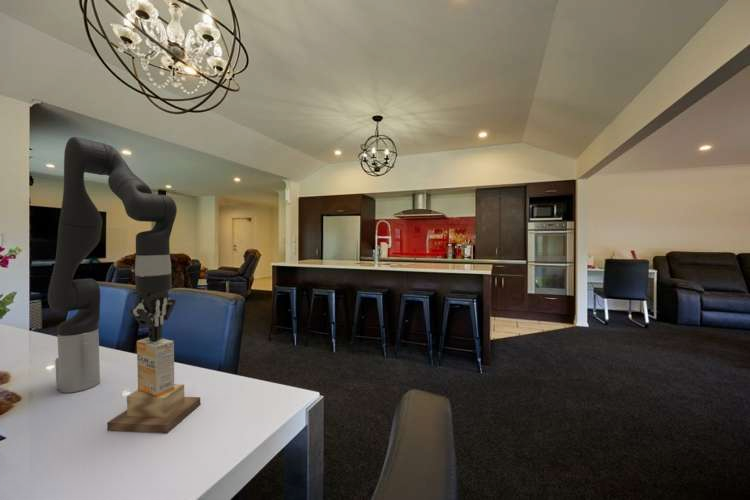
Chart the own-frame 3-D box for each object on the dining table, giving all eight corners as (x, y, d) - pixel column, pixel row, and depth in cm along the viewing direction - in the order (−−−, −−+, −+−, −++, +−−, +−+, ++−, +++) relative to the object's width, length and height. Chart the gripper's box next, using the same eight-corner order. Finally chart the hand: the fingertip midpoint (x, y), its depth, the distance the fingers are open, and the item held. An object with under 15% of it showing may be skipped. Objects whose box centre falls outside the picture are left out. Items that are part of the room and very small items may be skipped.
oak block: (127, 415, 79) (126, 396, 78) (149, 401, 86) (148, 383, 85) (165, 417, 78) (165, 397, 78) (184, 402, 85) (184, 384, 85)
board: (107, 430, 76) (107, 422, 76) (149, 402, 89) (149, 395, 89) (167, 433, 75) (166, 425, 75) (200, 404, 88) (200, 397, 88)
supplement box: (136, 390, 81) (135, 340, 81) (156, 382, 86) (155, 335, 85) (156, 398, 78) (154, 345, 77) (175, 389, 82) (174, 339, 81)
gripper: (159, 269, 87) (160, 331, 88) (116, 275, 74) (119, 348, 75) (185, 270, 87) (186, 332, 87) (147, 276, 73) (149, 349, 74)
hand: (155, 339), depth 81 cm, fingers closed
